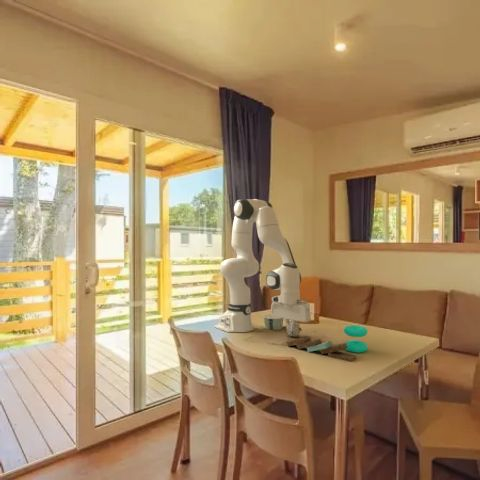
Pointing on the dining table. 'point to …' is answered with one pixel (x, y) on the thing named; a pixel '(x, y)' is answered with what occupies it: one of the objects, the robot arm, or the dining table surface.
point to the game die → (294, 331)
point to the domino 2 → (309, 344)
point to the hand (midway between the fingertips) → (290, 328)
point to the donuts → (355, 344)
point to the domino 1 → (299, 341)
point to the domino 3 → (320, 346)
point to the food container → (272, 322)
